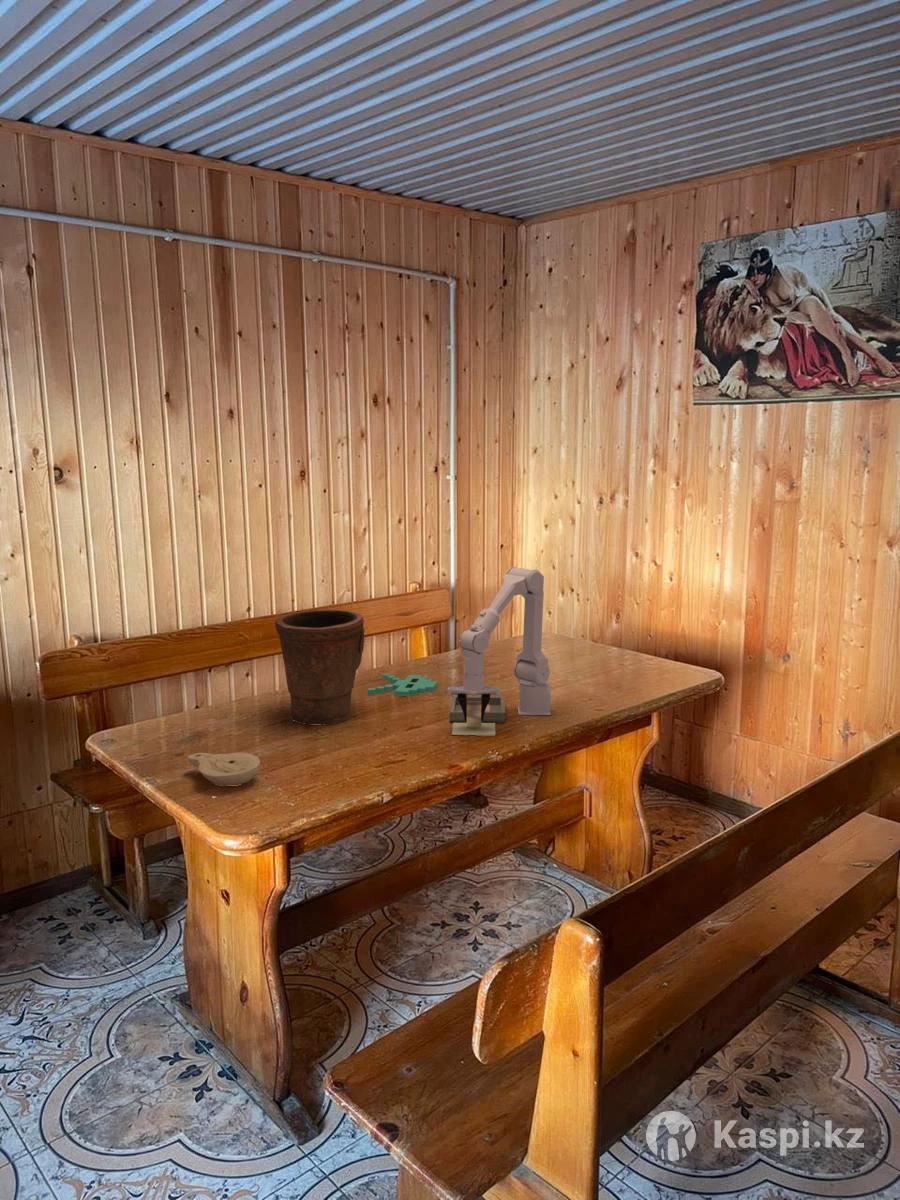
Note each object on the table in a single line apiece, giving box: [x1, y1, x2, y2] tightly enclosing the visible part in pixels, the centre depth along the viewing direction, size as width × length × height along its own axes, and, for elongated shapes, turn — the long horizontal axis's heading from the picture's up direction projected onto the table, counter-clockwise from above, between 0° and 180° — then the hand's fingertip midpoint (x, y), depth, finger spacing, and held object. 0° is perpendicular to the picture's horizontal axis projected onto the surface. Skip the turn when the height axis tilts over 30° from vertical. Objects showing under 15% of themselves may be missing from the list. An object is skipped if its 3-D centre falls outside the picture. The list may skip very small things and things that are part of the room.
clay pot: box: [274, 609, 365, 726], centre depth 263 cm, size 25×29×30 cm
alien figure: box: [367, 673, 438, 698], centre depth 292 cm, size 20×2×20 cm
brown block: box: [467, 701, 481, 726], centre depth 250 cm, size 4×4×6 cm
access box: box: [449, 695, 506, 724], centre depth 264 cm, size 16×16×3 cm
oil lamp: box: [187, 752, 261, 786], centre depth 216 cm, size 21×14×5 cm
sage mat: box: [451, 723, 496, 737], centre depth 250 cm, size 12×10×1 cm
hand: (473, 719), depth 250 cm, fingers closed on brown block, 4 cm apart
